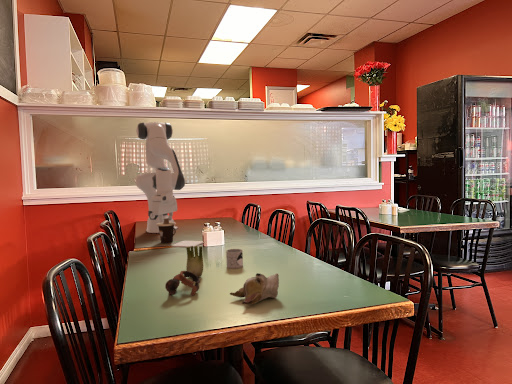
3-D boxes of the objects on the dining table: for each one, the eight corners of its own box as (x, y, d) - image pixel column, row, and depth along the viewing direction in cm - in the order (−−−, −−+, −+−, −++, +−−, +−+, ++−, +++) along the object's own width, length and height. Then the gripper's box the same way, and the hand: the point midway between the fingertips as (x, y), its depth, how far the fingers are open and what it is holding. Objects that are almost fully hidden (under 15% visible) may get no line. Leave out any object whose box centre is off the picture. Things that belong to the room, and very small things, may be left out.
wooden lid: (163, 223, 211) (163, 217, 211) (179, 223, 208) (178, 217, 208) (152, 226, 201) (152, 219, 201) (169, 226, 198) (169, 220, 198)
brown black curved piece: (179, 288, 127) (190, 268, 126) (196, 305, 122) (208, 284, 121) (153, 289, 117) (165, 267, 116) (171, 308, 112) (183, 285, 111)
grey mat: (183, 241, 206) (183, 240, 206) (204, 242, 202) (204, 241, 202) (171, 246, 194) (171, 245, 194) (193, 247, 190) (193, 246, 190)
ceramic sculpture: (286, 272, 110) (240, 283, 103) (288, 300, 111) (243, 313, 104) (269, 264, 119) (226, 274, 113) (271, 290, 120) (229, 302, 114)
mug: (240, 268, 147) (240, 252, 147) (224, 268, 148) (224, 252, 148) (246, 262, 157) (245, 247, 156) (231, 262, 158) (230, 246, 158)
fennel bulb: (205, 276, 139) (203, 244, 138) (198, 279, 134) (197, 247, 133) (191, 274, 141) (190, 244, 140) (184, 278, 136) (183, 246, 135)
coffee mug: (157, 241, 208) (156, 224, 208) (172, 239, 212) (172, 222, 211) (161, 245, 198) (160, 226, 197) (177, 243, 201) (176, 225, 201)
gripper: (170, 195, 214) (171, 218, 215) (149, 198, 195) (150, 224, 196) (179, 195, 212) (180, 218, 213) (159, 198, 193) (160, 224, 194)
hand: (166, 221), depth 205 cm, fingers open, 7 cm apart
